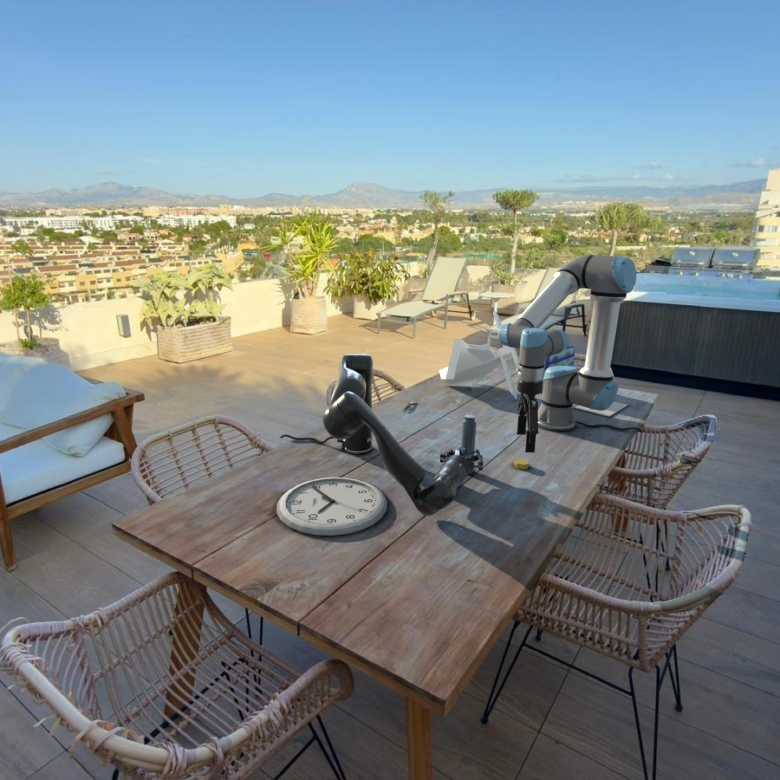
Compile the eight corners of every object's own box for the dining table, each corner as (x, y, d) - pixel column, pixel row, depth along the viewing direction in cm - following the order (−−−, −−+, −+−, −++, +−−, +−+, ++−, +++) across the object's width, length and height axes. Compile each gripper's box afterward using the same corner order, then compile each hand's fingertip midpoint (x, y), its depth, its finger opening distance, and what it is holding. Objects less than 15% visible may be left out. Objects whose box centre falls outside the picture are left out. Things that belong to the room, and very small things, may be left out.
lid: (511, 466, 168) (511, 461, 167) (517, 462, 171) (518, 457, 171) (524, 470, 165) (525, 465, 165) (530, 465, 169) (531, 461, 168)
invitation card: (608, 416, 214) (573, 407, 224) (608, 416, 214) (573, 408, 224) (628, 404, 229) (594, 396, 238) (628, 405, 229) (594, 397, 238)
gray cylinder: (467, 467, 167) (470, 413, 161) (475, 472, 164) (479, 417, 158) (457, 470, 165) (460, 415, 159) (465, 475, 162) (469, 419, 156)
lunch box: (547, 395, 239) (552, 351, 233) (526, 390, 247) (530, 347, 240) (574, 384, 257) (579, 343, 251) (554, 380, 264) (558, 339, 258)
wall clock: (392, 527, 129) (268, 531, 127) (391, 533, 130) (269, 537, 127) (383, 473, 158) (282, 475, 155) (383, 478, 158) (282, 480, 156)
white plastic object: (461, 429, 252) (437, 405, 227) (444, 352, 274) (420, 323, 250) (535, 404, 240) (518, 377, 215) (510, 326, 262) (492, 293, 237)
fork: (400, 411, 216) (400, 406, 215) (412, 399, 230) (412, 395, 230) (406, 412, 215) (406, 407, 215) (418, 400, 230) (418, 396, 229)
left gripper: (478, 465, 146) (493, 443, 161) (430, 455, 152) (449, 435, 167) (476, 489, 148) (491, 465, 163) (429, 479, 154) (447, 457, 169)
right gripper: (510, 367, 172) (506, 427, 178) (526, 392, 148) (521, 460, 155) (533, 367, 171) (529, 427, 178) (553, 392, 148) (546, 460, 154)
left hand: (469, 450), depth 165 cm, fingers closed on gray cylinder, 4 cm apart
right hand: (525, 442), depth 166 cm, fingers open, 13 cm apart
